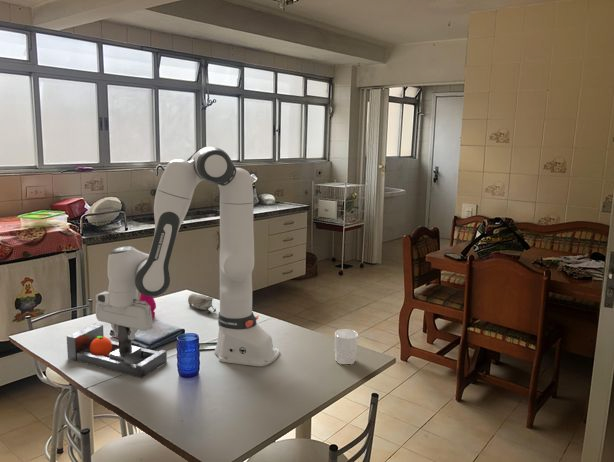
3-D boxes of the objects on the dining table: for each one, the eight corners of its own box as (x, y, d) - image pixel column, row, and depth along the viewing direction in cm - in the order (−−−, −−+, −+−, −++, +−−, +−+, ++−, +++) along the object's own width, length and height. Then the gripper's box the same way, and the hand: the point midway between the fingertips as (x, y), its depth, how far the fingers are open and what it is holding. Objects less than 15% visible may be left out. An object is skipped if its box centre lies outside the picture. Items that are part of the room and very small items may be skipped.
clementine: (85, 355, 169) (84, 335, 168) (106, 349, 174) (105, 330, 173) (95, 363, 164) (94, 343, 162) (116, 357, 168) (115, 337, 167)
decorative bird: (194, 303, 223) (194, 287, 221) (218, 313, 213) (218, 296, 211) (184, 306, 218) (184, 290, 217) (208, 316, 208) (208, 299, 207)
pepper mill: (159, 315, 207) (158, 268, 203) (149, 321, 200) (148, 272, 197) (144, 312, 209) (142, 266, 205) (133, 318, 202) (132, 270, 198)
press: (166, 362, 167) (166, 339, 165) (141, 378, 155) (140, 354, 154) (96, 344, 177) (95, 323, 176) (67, 358, 166) (66, 336, 164)
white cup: (339, 354, 178) (341, 327, 176) (360, 359, 174) (362, 332, 172) (329, 362, 171) (330, 334, 169) (350, 368, 167) (351, 340, 165)
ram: (141, 359, 168) (140, 322, 165) (124, 369, 160) (123, 330, 158) (127, 355, 170) (125, 318, 167) (109, 365, 162) (108, 327, 160)
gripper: (156, 299, 160) (157, 340, 162) (105, 289, 167) (107, 328, 170) (143, 305, 154) (144, 347, 157) (91, 295, 161) (93, 335, 164)
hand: (124, 337), depth 163 cm, fingers closed on ram, 4 cm apart
